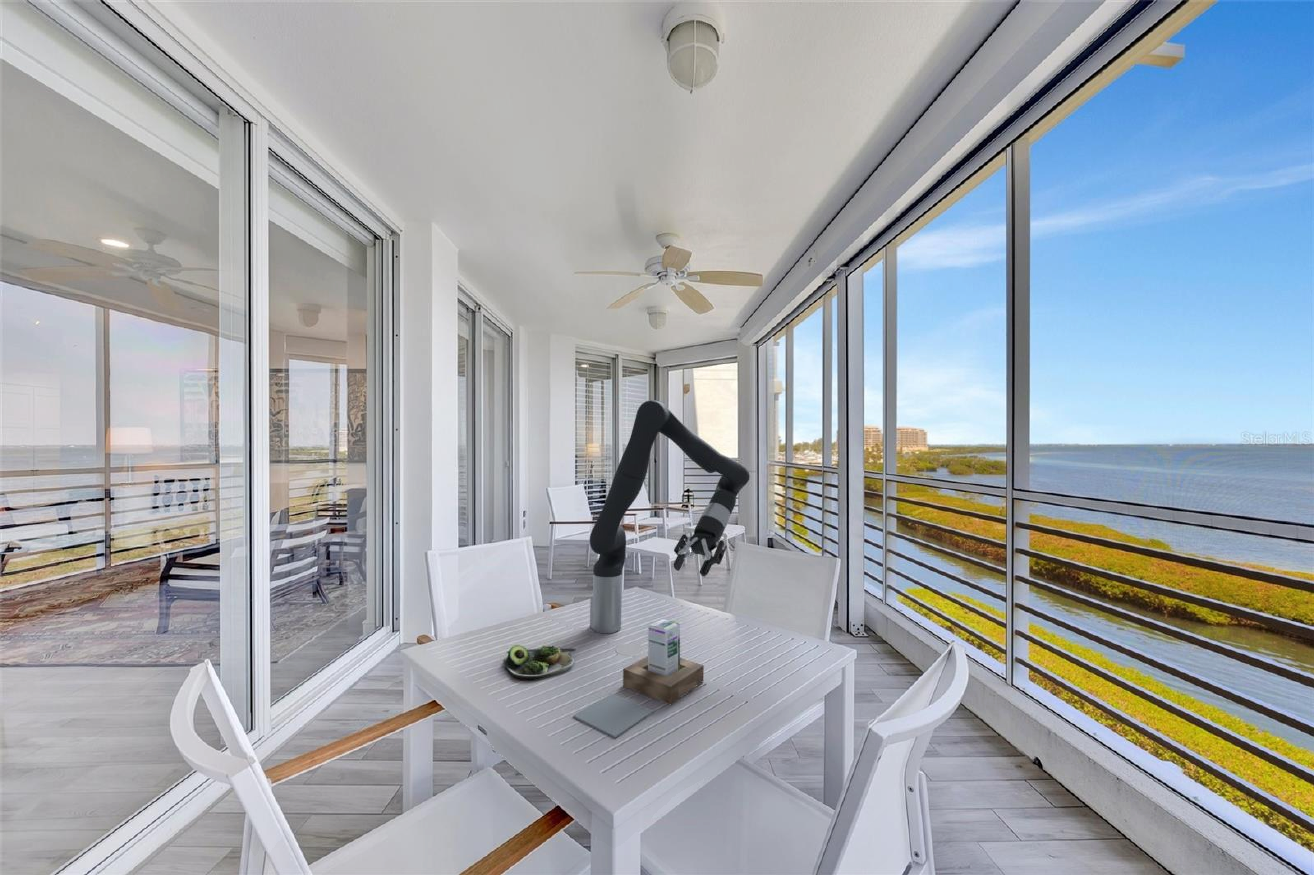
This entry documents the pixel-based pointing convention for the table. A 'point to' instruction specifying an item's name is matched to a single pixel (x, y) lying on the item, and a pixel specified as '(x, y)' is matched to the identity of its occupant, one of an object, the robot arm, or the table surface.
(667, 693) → the socket block
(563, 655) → the salad plate
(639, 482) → the robot arm
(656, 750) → the table surface
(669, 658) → the syrup box
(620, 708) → the mat
